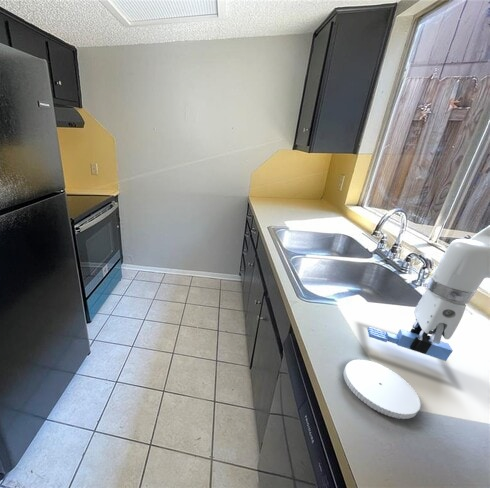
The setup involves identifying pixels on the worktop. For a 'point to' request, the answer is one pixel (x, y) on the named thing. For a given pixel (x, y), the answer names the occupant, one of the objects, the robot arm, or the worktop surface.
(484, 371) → the worktop surface
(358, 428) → the worktop surface
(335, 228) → the worktop surface
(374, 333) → the blue brush
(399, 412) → the plastic lid
